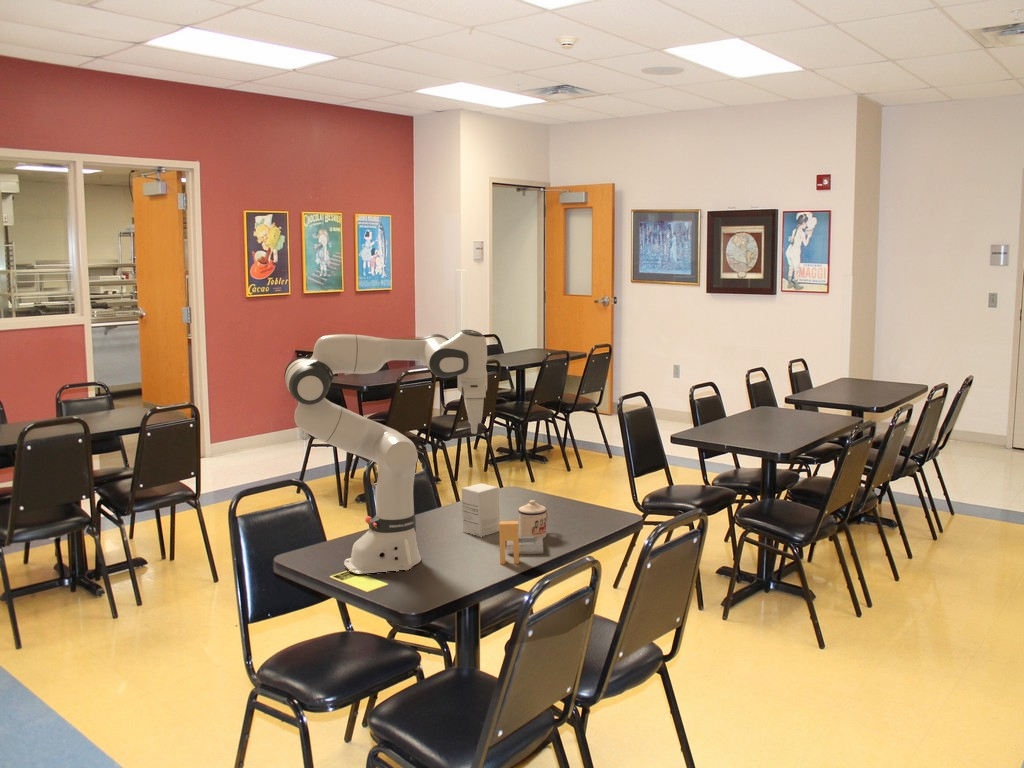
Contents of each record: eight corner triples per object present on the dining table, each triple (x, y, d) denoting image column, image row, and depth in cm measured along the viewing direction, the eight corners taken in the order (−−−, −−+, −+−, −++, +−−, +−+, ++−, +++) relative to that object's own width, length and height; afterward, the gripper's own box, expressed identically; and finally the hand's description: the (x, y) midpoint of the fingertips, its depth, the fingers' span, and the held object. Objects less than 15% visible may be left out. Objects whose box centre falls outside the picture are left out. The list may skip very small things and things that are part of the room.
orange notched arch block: (519, 560, 261) (518, 520, 259) (519, 563, 258) (518, 523, 256) (500, 560, 261) (499, 521, 259) (500, 564, 258) (499, 524, 256)
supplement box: (482, 526, 296) (481, 482, 294) (500, 531, 290) (499, 486, 288) (461, 532, 290) (460, 487, 288) (480, 537, 284) (479, 492, 282)
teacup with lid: (534, 542, 278) (534, 506, 276) (513, 536, 284) (512, 501, 282) (558, 533, 287) (558, 498, 285) (537, 528, 293) (536, 493, 291)
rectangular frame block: (543, 553, 266) (543, 544, 266) (506, 554, 266) (506, 544, 266) (542, 545, 274) (542, 536, 274) (507, 546, 274) (506, 536, 274)
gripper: (459, 373, 271) (459, 415, 275) (464, 394, 252) (464, 439, 256) (479, 372, 272) (480, 414, 276) (486, 394, 253) (486, 439, 257)
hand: (472, 427), depth 266 cm, fingers open, 8 cm apart
